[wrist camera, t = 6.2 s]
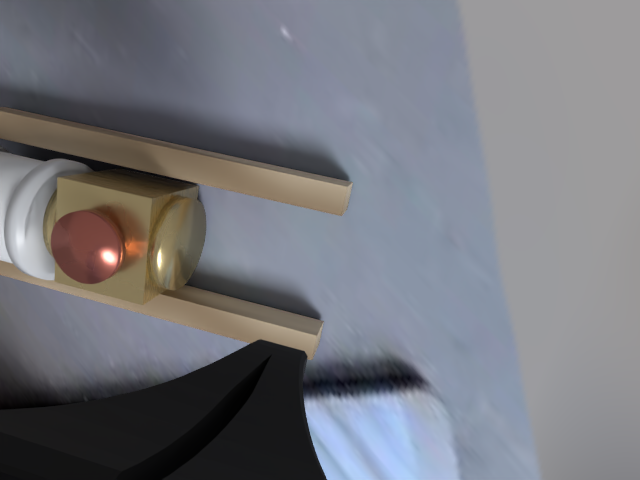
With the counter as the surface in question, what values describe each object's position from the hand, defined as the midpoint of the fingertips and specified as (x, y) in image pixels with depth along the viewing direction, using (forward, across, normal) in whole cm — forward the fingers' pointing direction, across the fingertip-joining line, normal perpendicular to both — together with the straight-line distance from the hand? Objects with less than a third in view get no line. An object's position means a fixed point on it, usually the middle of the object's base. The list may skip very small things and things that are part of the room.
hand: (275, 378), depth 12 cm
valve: (+9, +9, 0) cm, 13 cm away
